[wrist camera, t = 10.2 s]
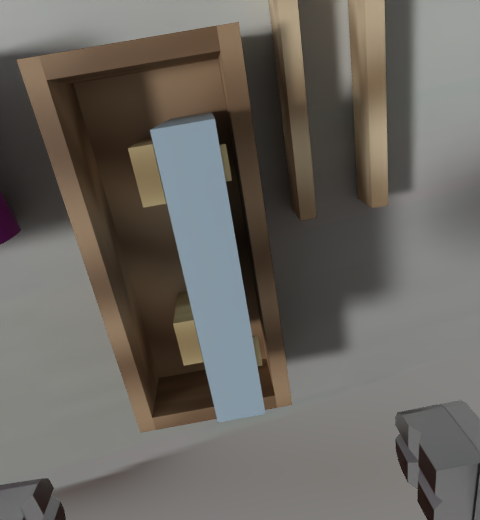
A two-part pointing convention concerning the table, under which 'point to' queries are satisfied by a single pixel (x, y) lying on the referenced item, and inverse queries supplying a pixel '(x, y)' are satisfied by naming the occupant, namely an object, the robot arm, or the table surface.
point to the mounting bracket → (7, 221)
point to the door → (210, 259)
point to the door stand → (364, 102)
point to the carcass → (155, 205)
